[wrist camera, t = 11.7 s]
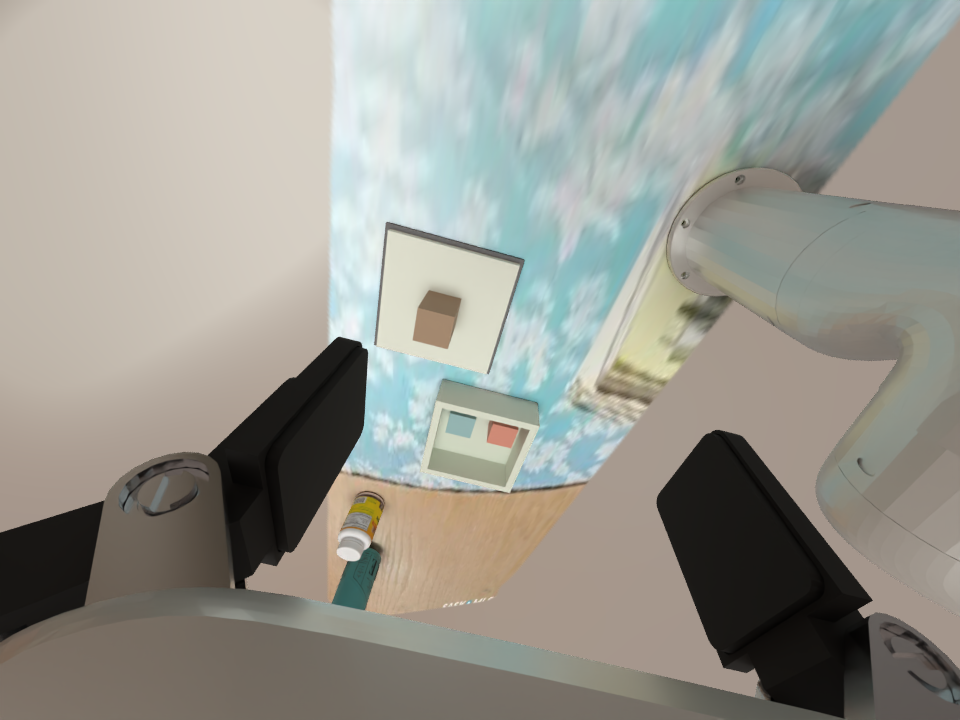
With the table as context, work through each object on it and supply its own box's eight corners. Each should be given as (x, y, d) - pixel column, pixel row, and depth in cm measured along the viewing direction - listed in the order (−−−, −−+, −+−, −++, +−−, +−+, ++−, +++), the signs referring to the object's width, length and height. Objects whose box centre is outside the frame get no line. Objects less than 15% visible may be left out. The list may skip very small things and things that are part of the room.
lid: (519, 263, 39) (520, 281, 34) (487, 370, 47) (483, 399, 41) (390, 228, 38) (369, 240, 33) (378, 342, 46) (360, 368, 40)
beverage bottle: (347, 543, 72) (296, 664, 55) (371, 535, 70) (325, 658, 53) (368, 559, 75) (325, 679, 58) (391, 552, 73) (353, 675, 55)
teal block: (478, 403, 50) (476, 419, 46) (472, 421, 51) (470, 438, 48) (454, 397, 49) (450, 413, 46) (449, 415, 51) (445, 432, 48)
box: (537, 402, 49) (539, 426, 45) (509, 467, 57) (509, 492, 52) (442, 379, 49) (436, 400, 44) (427, 447, 56) (419, 471, 52)
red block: (518, 413, 50) (518, 430, 47) (511, 431, 52) (510, 448, 49) (494, 407, 50) (493, 423, 47) (488, 425, 52) (486, 442, 48)
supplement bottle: (379, 513, 66) (358, 568, 57) (352, 502, 65) (327, 556, 56) (389, 498, 63) (370, 552, 55) (361, 486, 62) (336, 540, 54)
